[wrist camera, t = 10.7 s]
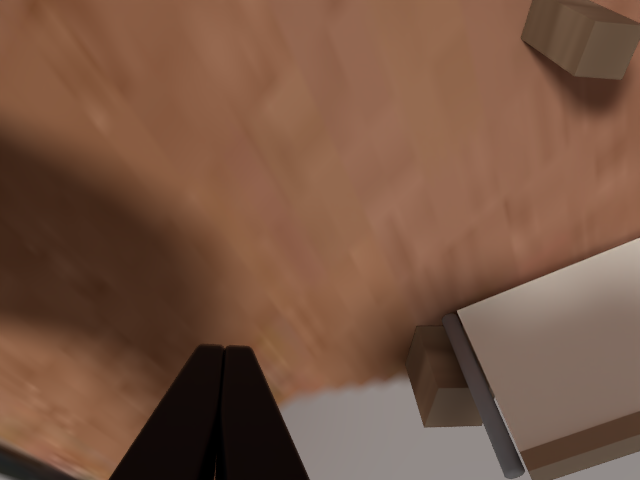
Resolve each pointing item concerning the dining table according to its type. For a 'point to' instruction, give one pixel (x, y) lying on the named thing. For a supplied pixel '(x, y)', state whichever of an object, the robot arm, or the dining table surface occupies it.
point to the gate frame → (579, 60)
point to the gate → (558, 365)
